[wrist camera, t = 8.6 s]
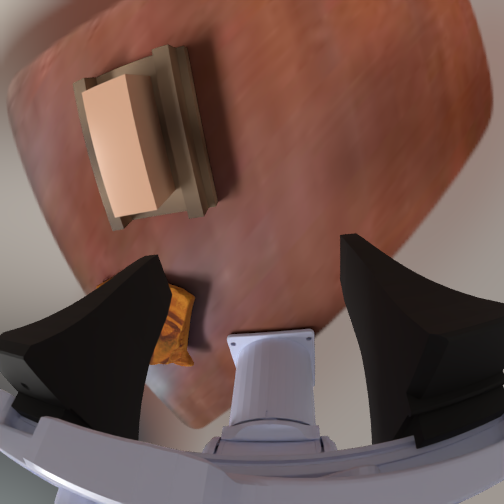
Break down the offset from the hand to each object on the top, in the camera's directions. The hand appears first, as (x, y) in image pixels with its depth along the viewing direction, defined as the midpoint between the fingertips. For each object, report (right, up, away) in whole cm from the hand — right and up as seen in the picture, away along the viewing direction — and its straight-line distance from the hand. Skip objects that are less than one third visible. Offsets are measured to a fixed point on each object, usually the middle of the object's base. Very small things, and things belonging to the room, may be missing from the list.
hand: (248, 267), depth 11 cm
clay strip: (-7, +8, +6) cm, 12 cm away
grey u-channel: (-7, +8, +7) cm, 13 cm away
